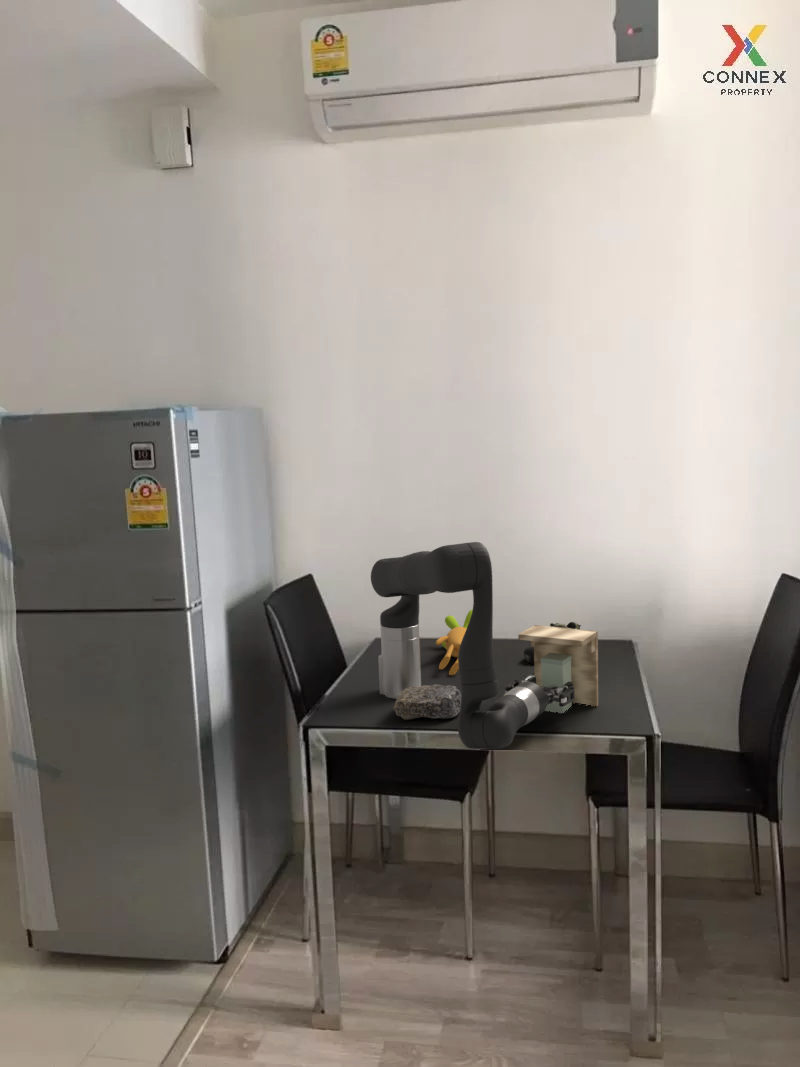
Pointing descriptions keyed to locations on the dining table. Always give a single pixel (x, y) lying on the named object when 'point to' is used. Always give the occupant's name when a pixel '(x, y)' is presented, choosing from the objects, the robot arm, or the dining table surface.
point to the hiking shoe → (530, 650)
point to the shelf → (568, 643)
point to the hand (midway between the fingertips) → (552, 683)
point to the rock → (428, 702)
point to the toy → (453, 641)
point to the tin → (556, 676)
